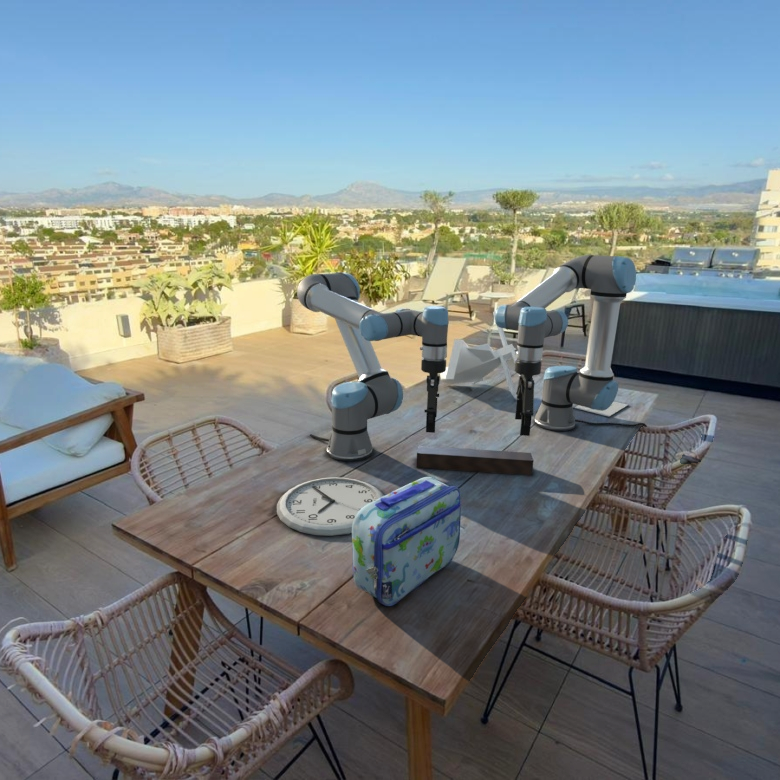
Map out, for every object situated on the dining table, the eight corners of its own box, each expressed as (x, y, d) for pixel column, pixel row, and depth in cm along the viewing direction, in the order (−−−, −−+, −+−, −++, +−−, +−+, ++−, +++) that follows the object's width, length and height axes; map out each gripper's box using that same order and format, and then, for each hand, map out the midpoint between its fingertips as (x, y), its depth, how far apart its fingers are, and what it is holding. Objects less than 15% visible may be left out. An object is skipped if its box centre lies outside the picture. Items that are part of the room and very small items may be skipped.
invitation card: (608, 416, 214) (573, 407, 224) (608, 416, 214) (573, 408, 224) (628, 404, 229) (594, 396, 238) (628, 405, 229) (594, 397, 238)
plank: (529, 467, 168) (530, 452, 166) (532, 475, 162) (533, 460, 161) (417, 459, 172) (418, 445, 170) (416, 467, 166) (416, 453, 165)
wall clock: (392, 527, 129) (268, 531, 127) (391, 533, 130) (269, 537, 127) (383, 473, 158) (282, 475, 155) (383, 478, 158) (282, 480, 156)
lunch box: (381, 619, 101) (382, 525, 95) (345, 592, 109) (344, 503, 102) (464, 563, 119) (469, 480, 113) (428, 543, 126) (432, 464, 120)
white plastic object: (461, 429, 252) (437, 405, 227) (444, 352, 274) (420, 323, 250) (535, 404, 240) (518, 377, 215) (510, 326, 262) (492, 293, 237)
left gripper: (423, 348, 170) (421, 410, 177) (418, 368, 147) (416, 438, 153) (447, 349, 169) (444, 411, 176) (445, 369, 146) (442, 439, 152)
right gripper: (511, 350, 167) (505, 412, 173) (520, 370, 143) (513, 441, 150) (535, 351, 166) (529, 413, 173) (548, 371, 143) (540, 443, 149)
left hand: (431, 424), depth 164 cm, fingers open, 13 cm apart
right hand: (521, 426), depth 161 cm, fingers open, 13 cm apart
